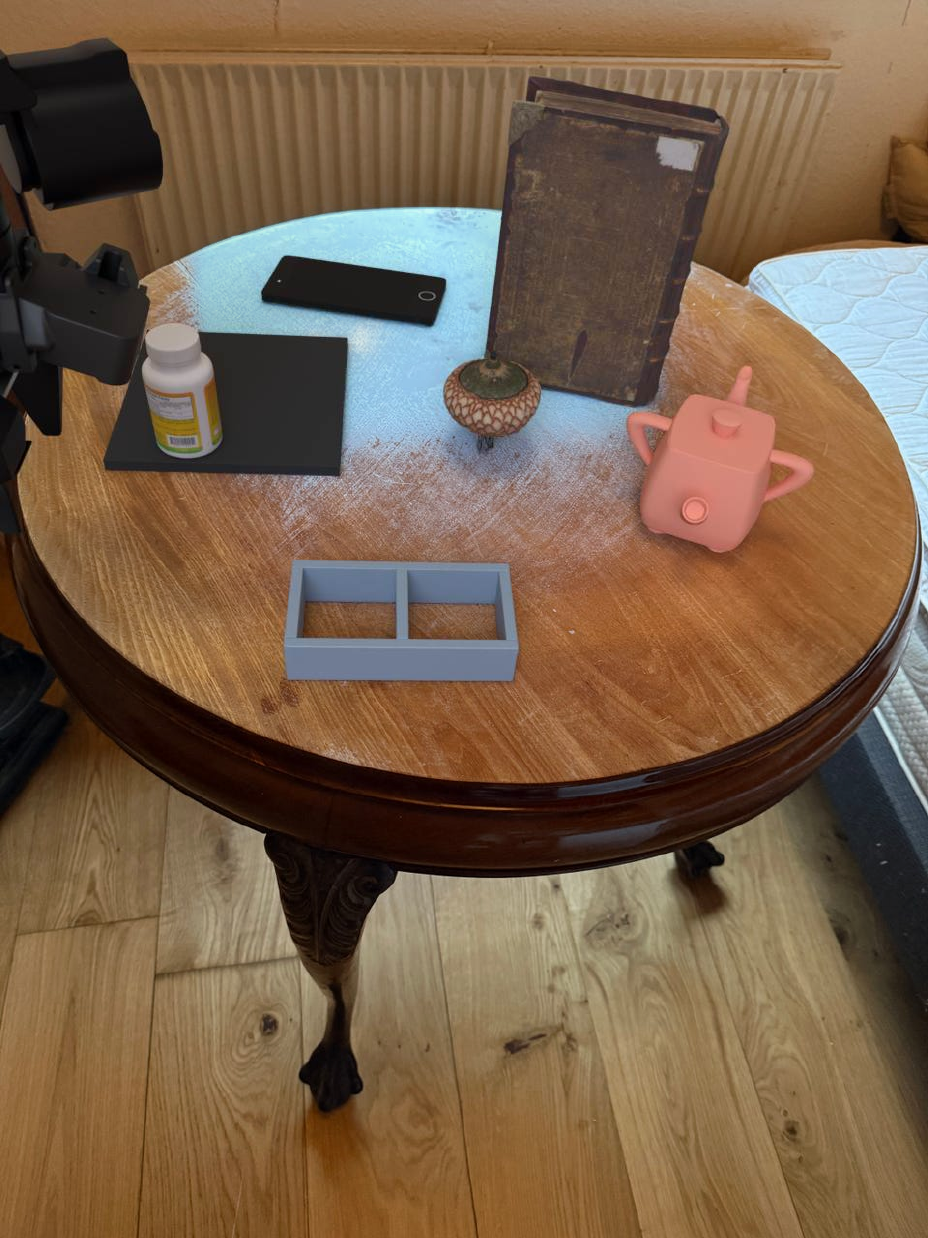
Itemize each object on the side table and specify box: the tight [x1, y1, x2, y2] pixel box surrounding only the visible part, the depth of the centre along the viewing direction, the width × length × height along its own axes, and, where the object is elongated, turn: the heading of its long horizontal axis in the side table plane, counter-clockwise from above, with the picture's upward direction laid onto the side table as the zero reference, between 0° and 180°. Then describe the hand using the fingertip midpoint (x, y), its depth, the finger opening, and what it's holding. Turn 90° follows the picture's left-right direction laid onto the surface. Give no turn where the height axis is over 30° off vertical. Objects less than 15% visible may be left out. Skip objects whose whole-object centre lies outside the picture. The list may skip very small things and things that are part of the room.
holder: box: [283, 559, 520, 682], centre depth 64 cm, size 15×8×4 cm, turn 93°
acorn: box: [442, 350, 542, 454], centre depth 77 cm, size 8×8×10 cm
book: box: [483, 74, 730, 408], centre depth 80 cm, size 17×7×25 cm, turn 71°
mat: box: [102, 329, 349, 477], centre depth 83 cm, size 19×20×1 cm
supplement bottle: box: [142, 322, 222, 458], centre depth 74 cm, size 5×5×10 cm
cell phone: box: [260, 254, 447, 327], centre depth 97 cm, size 9×18×1 cm, turn 81°
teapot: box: [625, 365, 815, 554], centre depth 73 cm, size 14×12×10 cm
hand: (34, 480), depth 56 cm, fingers open, 9 cm apart
